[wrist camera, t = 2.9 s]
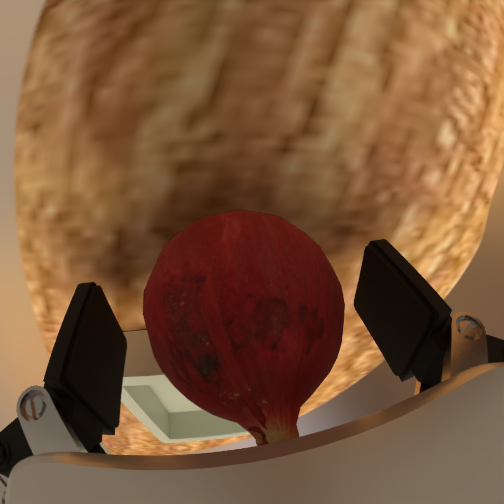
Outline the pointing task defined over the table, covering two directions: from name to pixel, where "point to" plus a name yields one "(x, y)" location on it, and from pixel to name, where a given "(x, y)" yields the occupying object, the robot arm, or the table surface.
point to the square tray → (165, 400)
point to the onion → (245, 319)
